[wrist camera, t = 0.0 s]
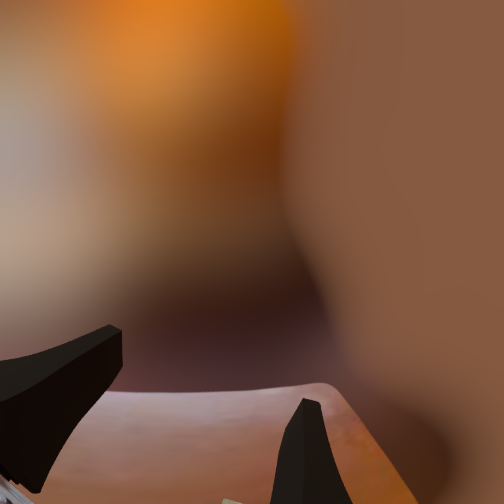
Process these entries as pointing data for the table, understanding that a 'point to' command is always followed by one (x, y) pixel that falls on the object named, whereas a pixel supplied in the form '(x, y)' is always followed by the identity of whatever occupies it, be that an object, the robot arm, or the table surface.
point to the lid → (229, 502)
